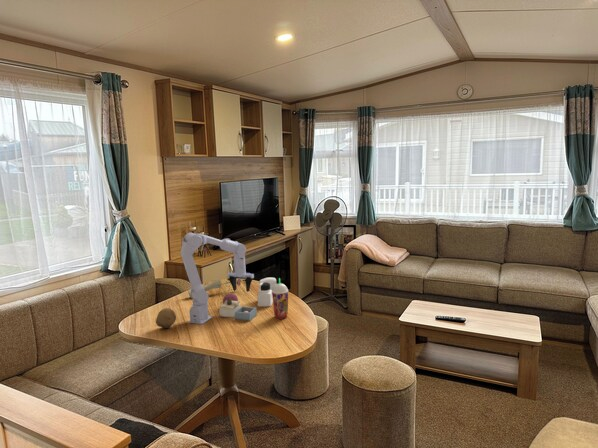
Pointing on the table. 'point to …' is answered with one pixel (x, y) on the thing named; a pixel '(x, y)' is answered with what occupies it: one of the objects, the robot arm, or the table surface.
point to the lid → (229, 304)
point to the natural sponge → (165, 318)
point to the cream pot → (229, 312)
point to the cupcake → (230, 295)
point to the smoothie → (280, 300)
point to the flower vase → (217, 285)
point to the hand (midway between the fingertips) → (241, 290)
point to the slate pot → (243, 315)
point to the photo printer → (269, 281)
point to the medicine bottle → (264, 295)
